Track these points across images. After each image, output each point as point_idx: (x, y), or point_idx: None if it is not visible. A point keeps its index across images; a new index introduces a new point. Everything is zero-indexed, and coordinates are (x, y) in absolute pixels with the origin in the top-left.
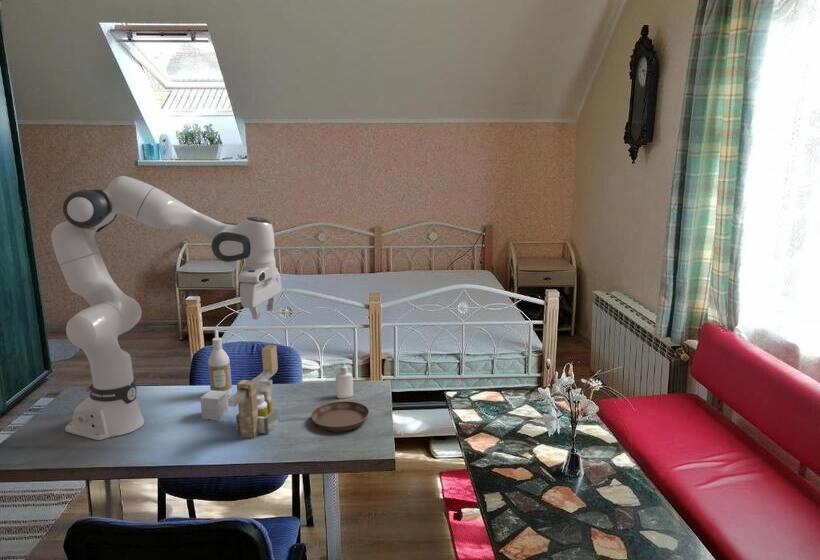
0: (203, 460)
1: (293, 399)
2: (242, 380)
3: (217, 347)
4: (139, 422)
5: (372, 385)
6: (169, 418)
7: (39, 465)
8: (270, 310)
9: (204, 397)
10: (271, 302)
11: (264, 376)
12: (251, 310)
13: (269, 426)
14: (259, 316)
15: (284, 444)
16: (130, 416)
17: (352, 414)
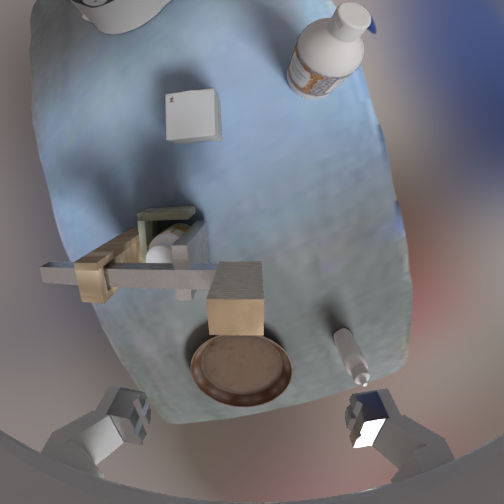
0: (60, 212)
1: (319, 252)
2: (92, 267)
3: (332, 30)
4: (125, 26)
5: (390, 360)
6: (171, 46)
7: (33, 25)
8: (346, 413)
9: (167, 103)
10: (389, 448)
11: (178, 288)
12: (69, 433)
13: None
14: (144, 423)
15: (137, 311)
16: (104, 19)
17: (266, 376)
